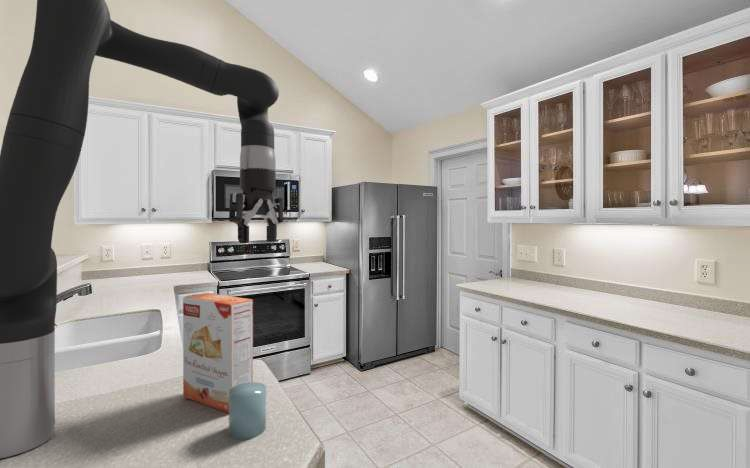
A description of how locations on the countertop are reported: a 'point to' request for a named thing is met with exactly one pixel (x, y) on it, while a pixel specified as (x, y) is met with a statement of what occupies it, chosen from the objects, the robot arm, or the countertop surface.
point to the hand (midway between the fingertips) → (258, 242)
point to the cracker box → (216, 347)
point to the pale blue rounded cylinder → (247, 410)
